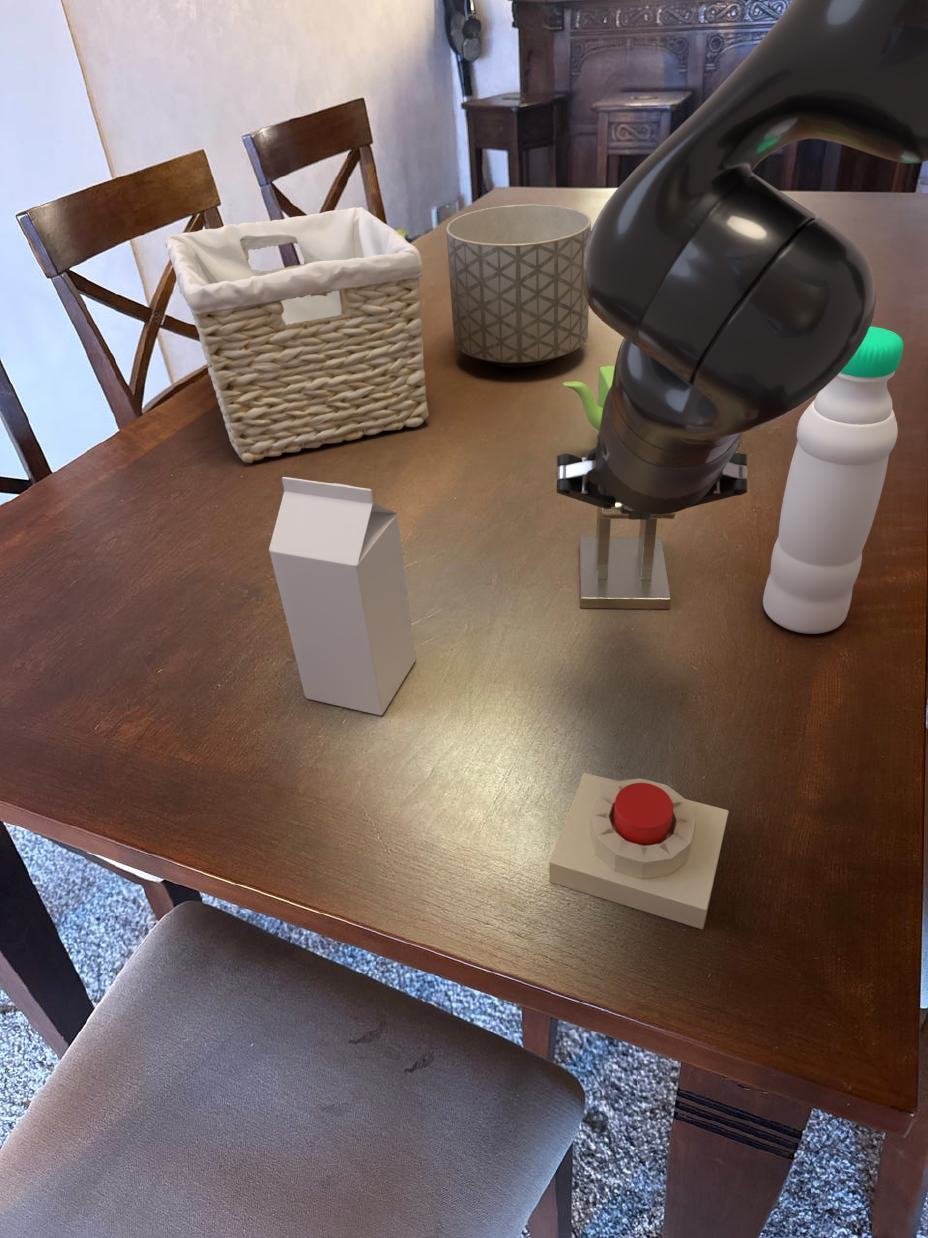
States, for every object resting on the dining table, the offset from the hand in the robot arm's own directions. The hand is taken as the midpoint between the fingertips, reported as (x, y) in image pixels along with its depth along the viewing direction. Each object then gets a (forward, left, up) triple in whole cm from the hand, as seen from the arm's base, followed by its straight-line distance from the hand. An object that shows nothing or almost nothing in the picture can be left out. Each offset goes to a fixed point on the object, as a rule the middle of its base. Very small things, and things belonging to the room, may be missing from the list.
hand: (638, 506), depth 65 cm
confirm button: (+12, +18, -10) cm, 24 cm away
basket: (+5, -61, -14) cm, 63 cm away
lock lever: (-3, -4, -3) cm, 6 cm away
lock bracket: (-6, -8, -14) cm, 17 cm away
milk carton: (+21, -8, -14) cm, 27 cm away
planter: (-26, -59, -14) cm, 66 cm away
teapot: (-23, -26, -14) cm, 38 cm away
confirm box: (+12, +18, -14) cm, 26 cm away
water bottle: (-16, +5, -14) cm, 22 cm away
